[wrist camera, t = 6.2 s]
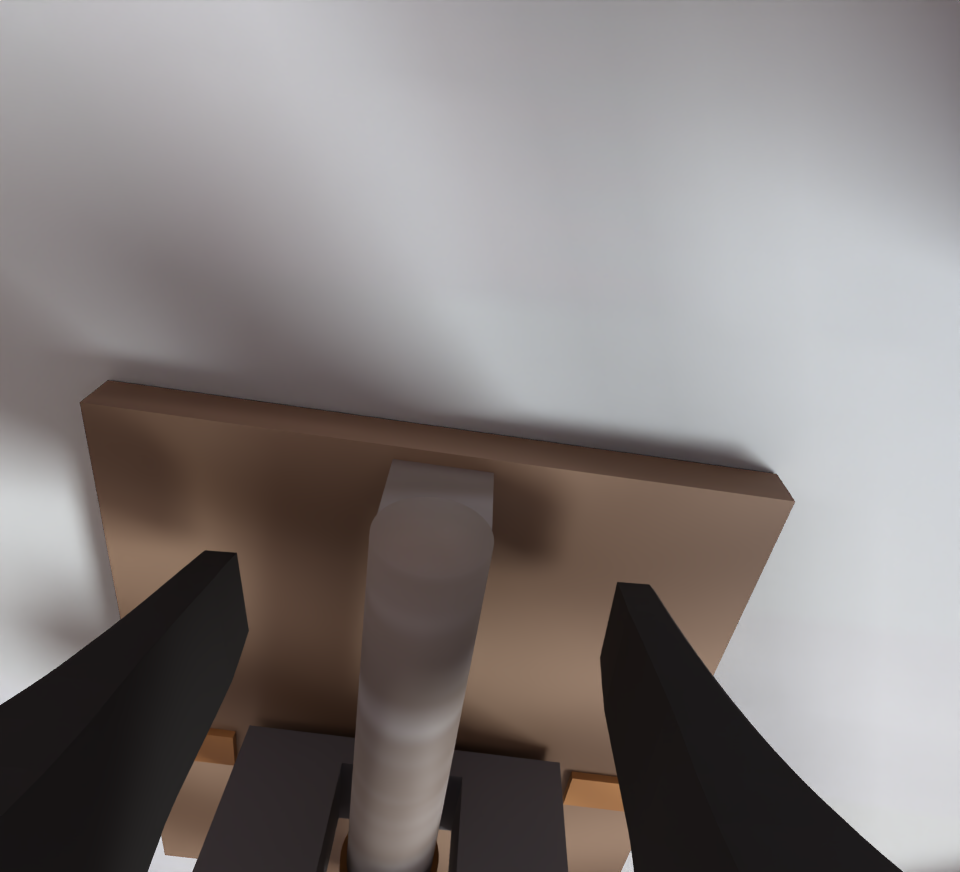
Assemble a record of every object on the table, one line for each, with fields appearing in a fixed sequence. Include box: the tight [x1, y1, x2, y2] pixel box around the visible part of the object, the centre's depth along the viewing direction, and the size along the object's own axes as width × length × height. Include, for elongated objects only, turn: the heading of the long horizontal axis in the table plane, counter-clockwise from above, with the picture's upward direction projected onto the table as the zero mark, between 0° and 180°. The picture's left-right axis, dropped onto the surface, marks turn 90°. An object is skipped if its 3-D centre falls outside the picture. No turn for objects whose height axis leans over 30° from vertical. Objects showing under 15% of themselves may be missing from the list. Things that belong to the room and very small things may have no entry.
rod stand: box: [80, 380, 795, 872], centre depth 15 cm, size 16×14×5 cm
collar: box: [193, 725, 568, 872], centre depth 15 cm, size 2×8×5 cm, turn 82°
